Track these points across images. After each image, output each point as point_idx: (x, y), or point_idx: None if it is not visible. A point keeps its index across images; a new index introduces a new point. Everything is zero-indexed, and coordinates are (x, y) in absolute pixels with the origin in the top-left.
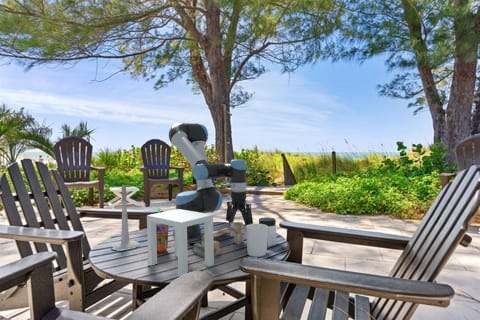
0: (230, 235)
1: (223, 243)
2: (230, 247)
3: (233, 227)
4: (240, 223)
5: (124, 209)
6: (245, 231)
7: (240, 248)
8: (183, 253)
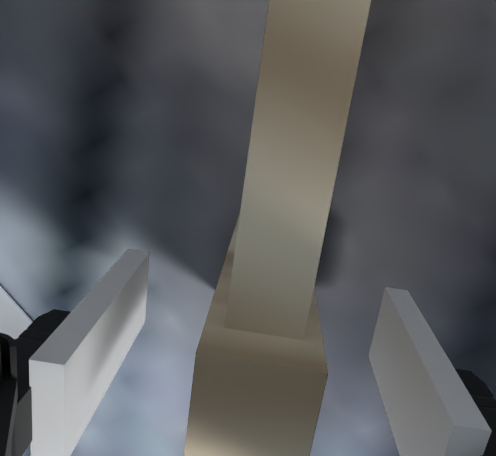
0: (403, 290)
1: (428, 139)
2: (251, 36)
3: (244, 193)
4: (187, 430)
5: None
6: (85, 306)
7: (115, 68)
8: None
